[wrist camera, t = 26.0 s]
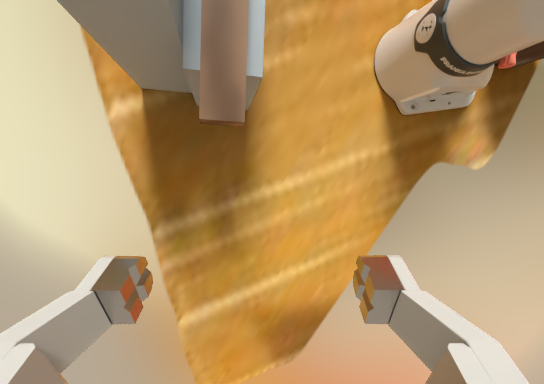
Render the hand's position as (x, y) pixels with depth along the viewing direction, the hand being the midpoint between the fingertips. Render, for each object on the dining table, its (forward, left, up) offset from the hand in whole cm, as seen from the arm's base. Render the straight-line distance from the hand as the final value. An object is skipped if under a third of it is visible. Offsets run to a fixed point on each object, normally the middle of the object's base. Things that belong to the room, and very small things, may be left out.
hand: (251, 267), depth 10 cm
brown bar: (+1, -20, -20) cm, 28 cm away
